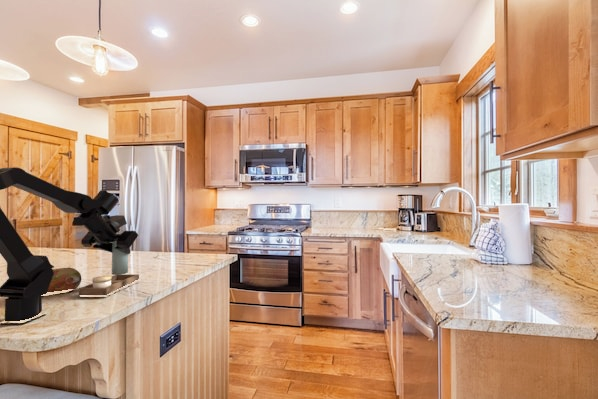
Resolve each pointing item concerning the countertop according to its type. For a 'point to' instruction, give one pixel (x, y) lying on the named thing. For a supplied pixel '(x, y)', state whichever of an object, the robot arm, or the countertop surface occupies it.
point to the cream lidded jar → (102, 281)
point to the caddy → (116, 283)
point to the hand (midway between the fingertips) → (123, 252)
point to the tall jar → (119, 261)
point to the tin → (64, 279)
